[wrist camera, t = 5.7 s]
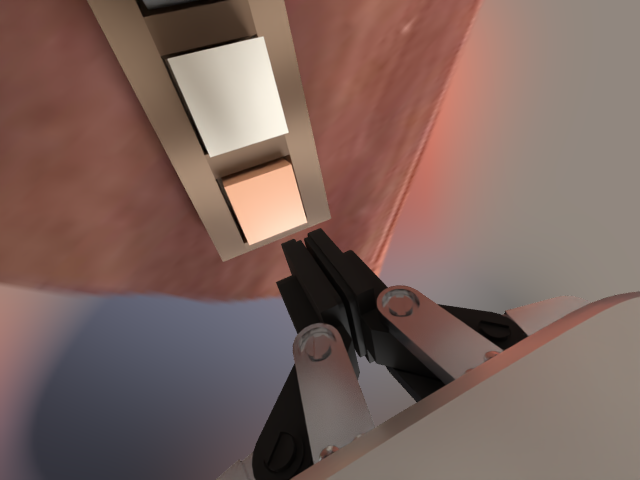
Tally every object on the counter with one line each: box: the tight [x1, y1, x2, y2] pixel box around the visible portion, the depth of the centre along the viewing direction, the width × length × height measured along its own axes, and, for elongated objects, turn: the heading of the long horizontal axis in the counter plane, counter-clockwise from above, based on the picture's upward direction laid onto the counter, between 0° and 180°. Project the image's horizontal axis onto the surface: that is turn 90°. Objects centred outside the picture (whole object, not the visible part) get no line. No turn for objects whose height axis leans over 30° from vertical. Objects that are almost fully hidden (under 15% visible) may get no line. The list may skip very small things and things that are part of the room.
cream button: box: [168, 37, 289, 157], centre depth 14 cm, size 4×4×3 cm
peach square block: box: [221, 157, 307, 245], centre depth 18 cm, size 4×4×3 cm
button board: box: [87, 0, 331, 262], centre depth 16 cm, size 18×8×3 cm, turn 13°
